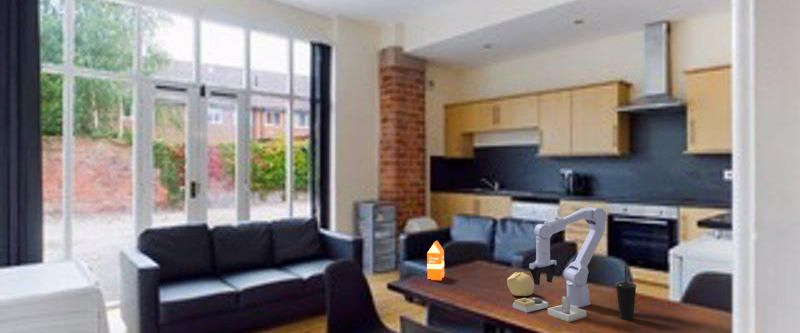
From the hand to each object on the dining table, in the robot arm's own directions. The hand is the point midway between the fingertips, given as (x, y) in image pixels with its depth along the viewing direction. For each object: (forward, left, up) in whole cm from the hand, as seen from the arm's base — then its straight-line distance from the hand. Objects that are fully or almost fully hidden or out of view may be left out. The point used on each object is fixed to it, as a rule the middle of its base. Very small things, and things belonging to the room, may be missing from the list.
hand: (543, 283), depth 203 cm
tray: (+1, +13, -10) cm, 17 cm away
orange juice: (+10, -68, -11) cm, 69 cm away
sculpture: (-5, -19, -11) cm, 22 cm away
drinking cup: (-16, +28, -11) cm, 34 cm away
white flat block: (+5, -3, -10) cm, 12 cm away
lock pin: (+1, +13, -10) cm, 16 cm away
